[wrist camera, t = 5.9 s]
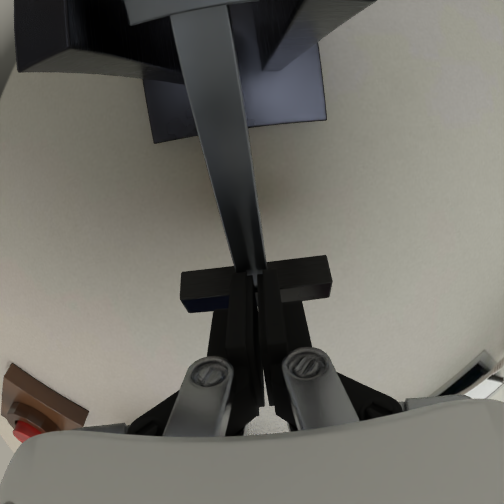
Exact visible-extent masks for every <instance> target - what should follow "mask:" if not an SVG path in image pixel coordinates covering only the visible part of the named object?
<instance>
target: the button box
mask: <svg viewBox="0 0 504 504" xmlns="http://www.w3.org/2000/svg"><path fill="white" fill-rule="evenodd" d="M88 413H89V411H87V410H85V409H84V408H82V407H80V406H78V405H76V404H75V403H73V402H71V401H70V400H68V399H66V398H64V397H63V396H61V395H59V394H58V393H56V392H55V391H53V390H51V389H50V388H48V387H47V386H45V385H43V384H42V383H40V382H39V381H37V380H36V379H34V378H33V377H31V376H30V375H28V374H27V373H26V372H24V371H23V370H21V369H20V368H18V367H17V366H16V365H14V364H13V363H12V364H11V366H10V367H9V369H8V371H7V372H6V374H5V375H4V380H3V391H2V406H1V415H2V416H3V417H5V418H6V419H7V420H8V422H9V423H10V425H11V426H12V427H13V428H15V426H16V424H17V422H18V420H20V421H23V422H25V423H28V424H30V425H31V426H33V427H34V428H36V429H37V430H39V431H40V432H41V433H42V434H43V433H48V432H52V431H64V430H72V429H75V428H81V427H83V426H84V423H85V421H86V418H87V415H88Z"/></svg>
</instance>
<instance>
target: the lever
mask: <svg viewBox="0 0 504 504" xmlns="http://www.w3.org/2000/svg"><path fill="white" fill-rule="evenodd" d="M255 1H259V0H122V3H123V6H124V10H125V13H126V17H127V20H128V24H129V25H130V26H134V25H137V24H140V23H144V22H148V21H151V20H155V19H159V18H163V17H167V16H168V17H169V21H170V25H171V29H172V33H173V37H174V41H175V46H176V50H177V54H178V58H179V62H180V66H181V70H182V74H183V78H184V82H185V86H186V90H187V93H188V97H189V101H190V105H191V109H192V113H193V117H194V121H195V124H196V128H197V132H198V136H199V140H200V143H201V147H202V151H203V155H204V159H205V162H206V166H207V170H208V173H209V177H210V181H211V185H212V188H213V192H214V196H215V199H216V203H217V206H218V210H219V214H220V217H221V221H222V225H223V228H224V232H225V235H226V239H227V242H228V246H229V250H230V253H231V257H232V260H233V264H234V266H230V267H222V268H213V269H204V270H196V271H187V272H182V273H181V286H180V300H181V302H182V303H183V305H184V307H185V308H186V310H187V311H188V313H196V312H208V311H214V310H215V309H225V308H228V307H229V296H230V285H231V275H232V273H240V272H247V276H248V275H253V281H254V287H255V294H256V301H257V306H258V291H257V274H262V270H266V269H275V268H277V274H278V281H279V288H280V295H281V302H289V301H297V300H301V301H306V300H314V299H321V298H328V297H330V292H331V287H332V282H333V281H332V277H331V273H330V268H329V264H328V260H327V256H326V255H322V256H313V257H305V258H297V259H289V260H281V261H273V262H266V255H265V247H264V240H263V232H262V225H261V218H260V211H259V203H258V196H257V189H256V182H255V175H254V168H253V161H252V154H251V147H250V140H249V133H248V126H247V119H246V113H245V106H244V99H243V93H242V86H241V79H240V73H239V66H238V60H237V53H236V47H235V40H234V34H233V28H232V21H231V15H230V9H229V5H230V4H237V3H246V2H255Z"/></svg>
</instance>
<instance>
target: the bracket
mask: <svg viewBox="0 0 504 504" xmlns="http://www.w3.org/2000/svg"><path fill="white" fill-rule="evenodd" d="M376 1H377V0H259V1H255V2H246V3H237V4H230V5H229V9H230V15H231V21H232V28H233V34H234V40H235V47H236V53H237V60H238V66H239V73H240V79H241V86H242V93H243V99H244V106H245V113H246V119H247V126H248V128H252V127H260V126H269V125H278V124H288V123H299V122H312V121H326V120H327V114H326V104H325V94H324V85H323V77H322V68H321V61H320V53H319V46H318V41H319V40H321V39H322V38H324V37H325V36H326V35H328V34H329V33H330V32H332V31H333V30H335V29H336V28H337V27H339V26H340V25H342V24H343V23H344V22H346V21H347V20H349V19H350V18H352V17H353V16H355V15H356V14H358V13H359V12H361V11H362V10H364V9H365V8H367V7H368V6H370V5H371V4H373V3H374V2H376ZM14 31H15V49H16V62H17V70H18V72H19V73H21V72H62V73H86V74H101V75H113V76H124V77H133V78H141V79H143V85H144V91H145V97H146V103H147V109H148V115H149V120H150V126H151V131H152V137H153V142H154V144H157V143H161V142H166V141H171V140H176V139H182V138H187V137H193V136H198V132H197V128H196V124H195V121H194V117H193V113H192V109H191V105H190V101H189V97H188V93H187V90H186V86H185V82H184V78H183V74H182V70H181V66H180V62H179V58H178V54H177V50H176V46H175V41H174V37H173V33H172V29H171V25H170V21H169V17H168V16H167V17H163V18H159V19H155V20H151V21H148V22H144V23H140V24H137V25H134V26H130V25H129V24H128V20H127V17H126V13H125V10H124V6H123V3H122V0H14Z"/></svg>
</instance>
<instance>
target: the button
mask: <svg viewBox="0 0 504 504" xmlns="http://www.w3.org/2000/svg"><path fill="white" fill-rule="evenodd" d="M13 434H14V436H15V437H16V438H17V439H18V440H19V441H21V442H22V443H23V442H24V441H26V440H27V439H28V438H31V437H33V436H35V435H39V434H42V433H41V432H40V431H39V430H37V429H36V428H34V427H33V426H31V425H30V424H28V423H25V422H23V421H20V420H18V422H17V424H16V426H15V428H14V430H13Z"/></svg>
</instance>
